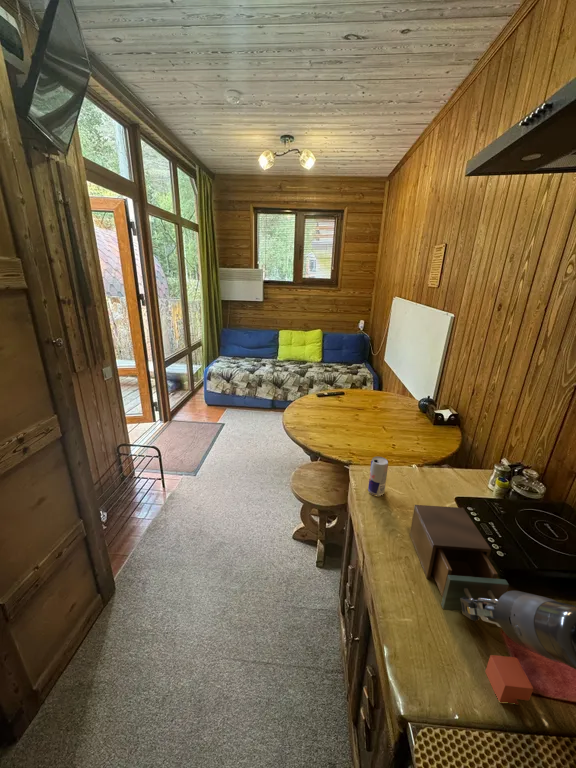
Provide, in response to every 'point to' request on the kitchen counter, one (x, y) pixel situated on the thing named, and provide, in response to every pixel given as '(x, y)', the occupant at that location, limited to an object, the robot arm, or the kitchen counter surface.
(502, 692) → the block
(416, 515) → the cabinet
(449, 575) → the drawer
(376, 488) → the energy drink
